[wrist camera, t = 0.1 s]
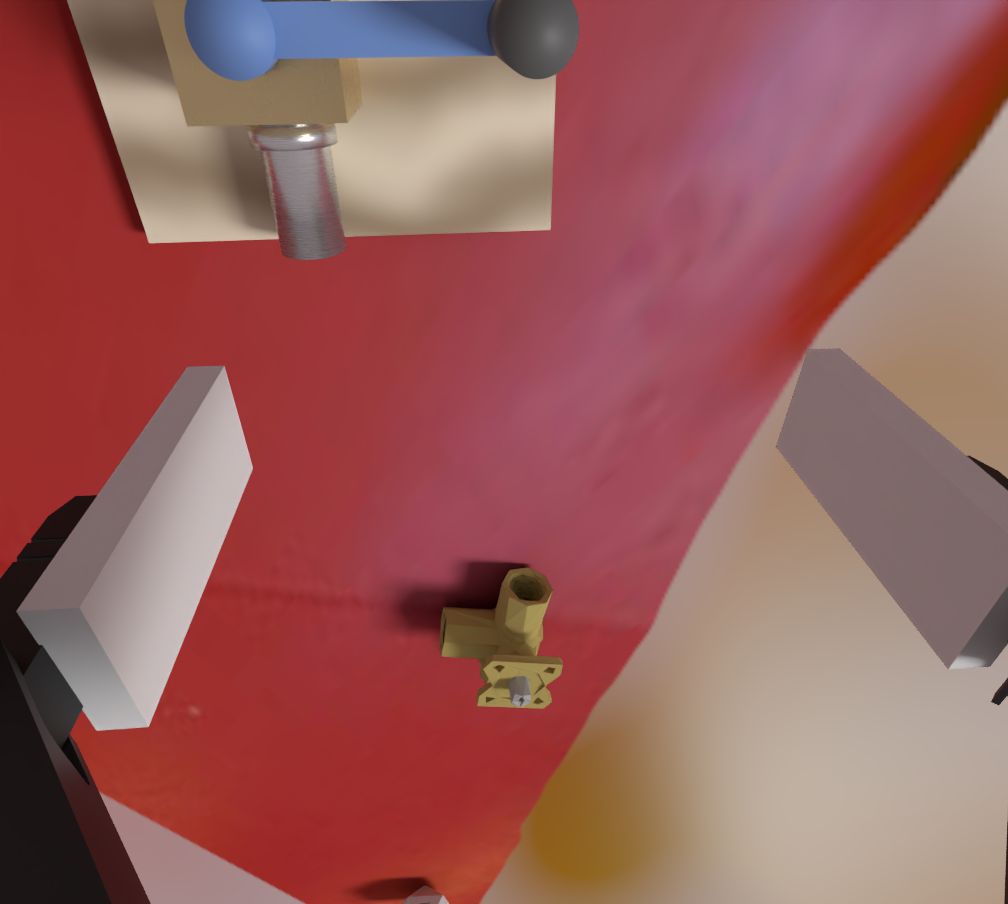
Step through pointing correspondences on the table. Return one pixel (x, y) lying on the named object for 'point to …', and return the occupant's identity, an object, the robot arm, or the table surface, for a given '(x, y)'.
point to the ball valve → (506, 642)
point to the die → (425, 897)
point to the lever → (380, 32)
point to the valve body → (277, 129)
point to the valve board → (356, 157)
